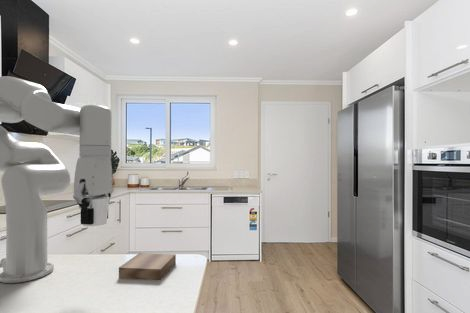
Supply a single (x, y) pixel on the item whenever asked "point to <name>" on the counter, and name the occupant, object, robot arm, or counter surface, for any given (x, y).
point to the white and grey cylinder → (100, 210)
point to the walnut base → (147, 266)
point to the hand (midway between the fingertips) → (94, 220)
